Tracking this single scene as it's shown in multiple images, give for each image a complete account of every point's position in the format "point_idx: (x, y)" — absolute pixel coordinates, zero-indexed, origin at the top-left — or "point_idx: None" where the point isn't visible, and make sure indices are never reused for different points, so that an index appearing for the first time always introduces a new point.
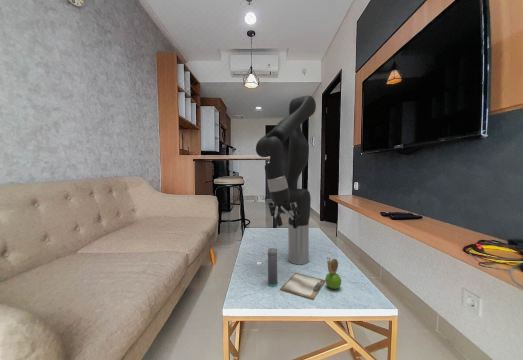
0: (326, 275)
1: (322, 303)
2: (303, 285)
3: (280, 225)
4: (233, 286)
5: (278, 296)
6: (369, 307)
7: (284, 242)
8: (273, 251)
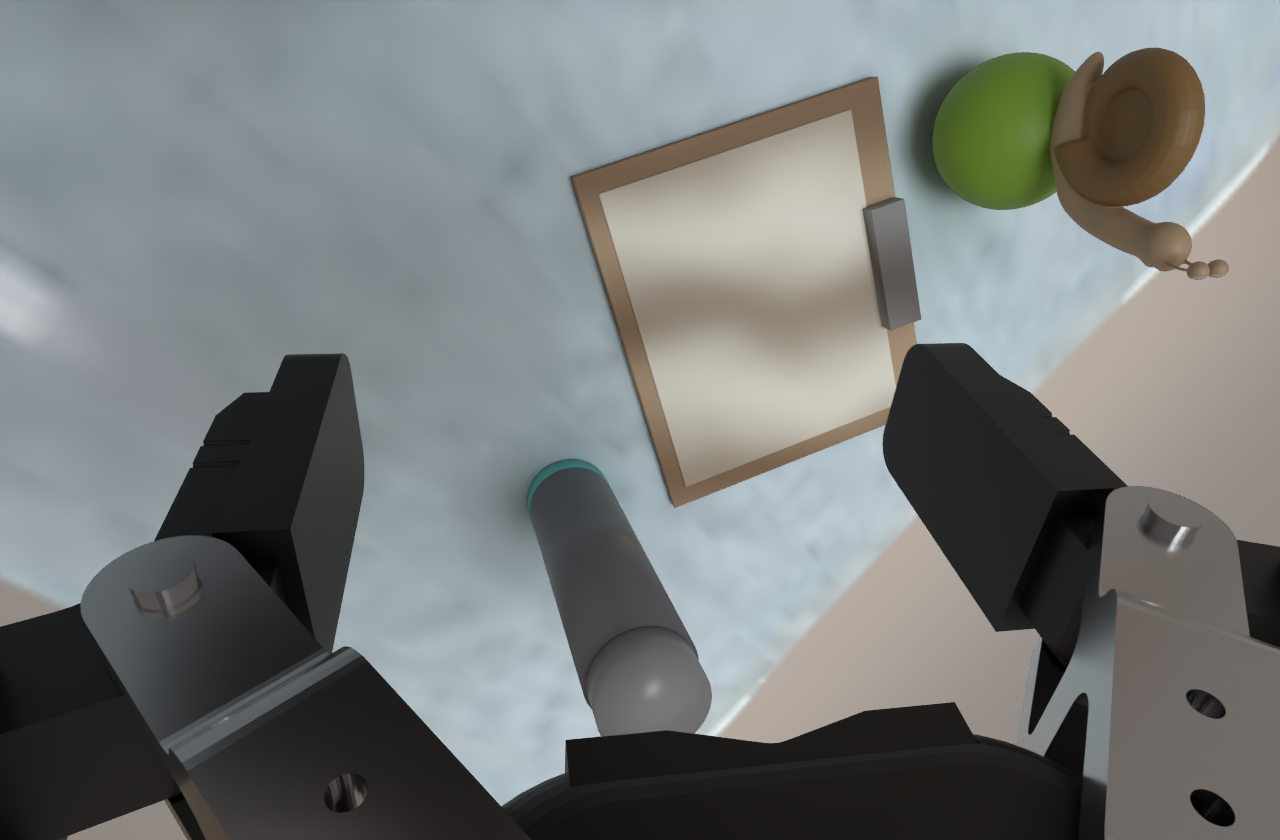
0: (980, 163)
1: None
2: (785, 326)
3: (356, 432)
4: None
5: (719, 560)
6: (1221, 179)
7: None
8: (701, 722)
